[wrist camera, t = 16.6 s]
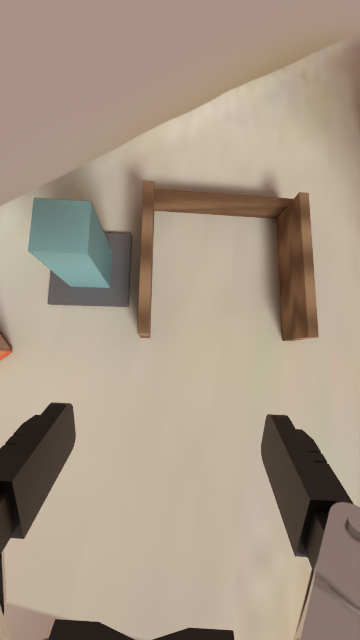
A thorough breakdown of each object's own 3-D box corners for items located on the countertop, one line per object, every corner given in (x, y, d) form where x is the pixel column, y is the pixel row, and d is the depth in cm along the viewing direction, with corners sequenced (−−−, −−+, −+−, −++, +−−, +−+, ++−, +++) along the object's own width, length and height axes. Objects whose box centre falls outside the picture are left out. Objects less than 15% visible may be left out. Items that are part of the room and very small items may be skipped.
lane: (291, 340, 35) (318, 337, 29) (140, 337, 33) (137, 333, 27) (284, 211, 38) (308, 184, 32) (146, 202, 36) (143, 171, 30)
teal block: (110, 287, 33) (87, 253, 22) (70, 286, 33) (28, 250, 22) (112, 251, 34) (91, 201, 23) (73, 249, 34) (33, 197, 23)
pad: (128, 306, 34) (128, 306, 33) (49, 304, 33) (47, 303, 32) (131, 235, 35) (131, 234, 35) (56, 231, 34) (54, 229, 34)
